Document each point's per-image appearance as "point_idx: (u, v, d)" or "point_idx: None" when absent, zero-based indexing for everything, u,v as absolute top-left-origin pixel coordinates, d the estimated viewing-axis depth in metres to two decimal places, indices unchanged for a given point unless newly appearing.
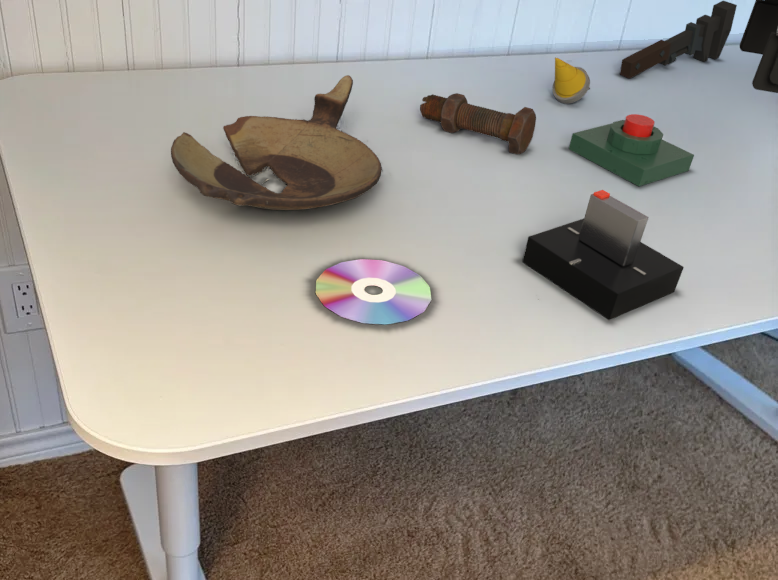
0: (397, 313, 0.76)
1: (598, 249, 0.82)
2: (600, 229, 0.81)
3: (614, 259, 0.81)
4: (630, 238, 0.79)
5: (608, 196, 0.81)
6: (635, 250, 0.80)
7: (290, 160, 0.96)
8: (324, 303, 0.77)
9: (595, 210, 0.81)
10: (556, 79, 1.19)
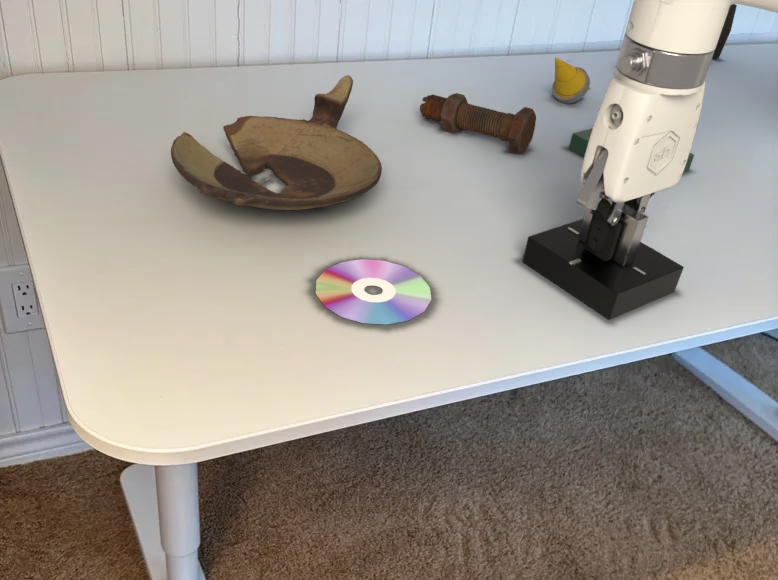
0: (397, 313, 0.76)
1: None
2: None
3: (614, 259, 0.81)
4: (630, 238, 0.79)
5: None
6: (635, 250, 0.80)
7: (290, 160, 0.96)
8: (324, 303, 0.77)
9: None
10: (556, 79, 1.19)
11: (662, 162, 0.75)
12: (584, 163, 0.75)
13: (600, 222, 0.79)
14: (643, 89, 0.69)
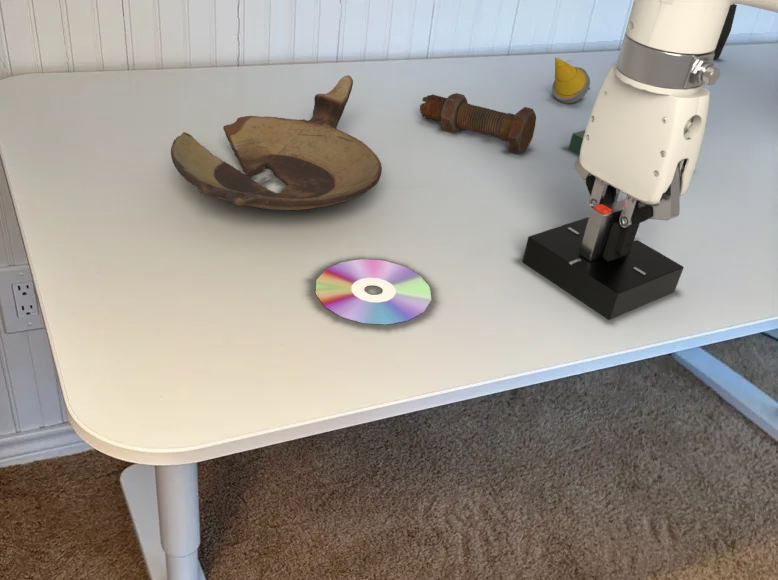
0: (397, 313, 0.76)
1: None
2: None
3: None
4: None
5: None
6: None
7: (290, 160, 0.96)
8: (324, 303, 0.77)
9: (608, 224, 0.79)
10: (556, 79, 1.19)
11: None
12: (664, 185, 0.73)
13: (633, 227, 0.79)
14: (700, 90, 0.70)
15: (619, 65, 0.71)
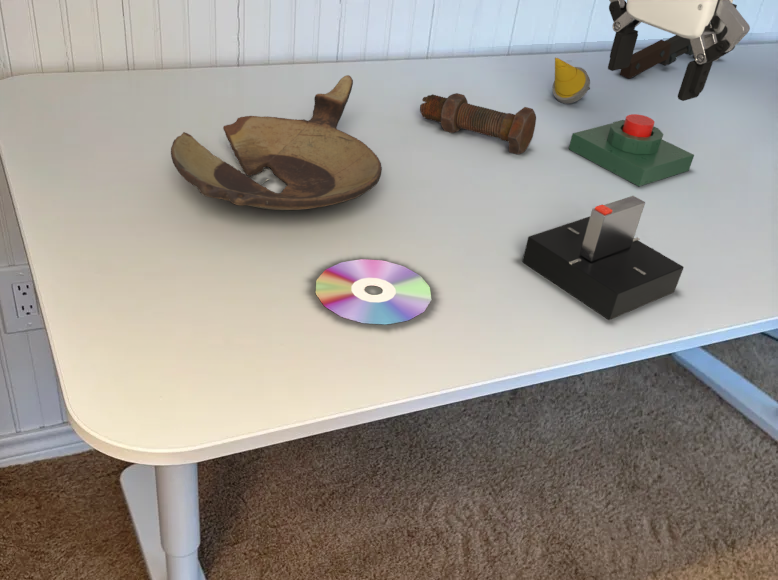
0: (397, 313, 0.76)
1: (610, 253, 0.82)
2: (612, 236, 0.80)
3: (624, 248, 0.83)
4: (638, 221, 0.82)
5: None
6: None
7: (290, 160, 0.96)
8: (324, 303, 0.77)
9: (608, 225, 0.79)
10: (556, 79, 1.19)
11: None
12: (707, 18, 0.83)
13: (707, 65, 0.87)
14: None
15: None
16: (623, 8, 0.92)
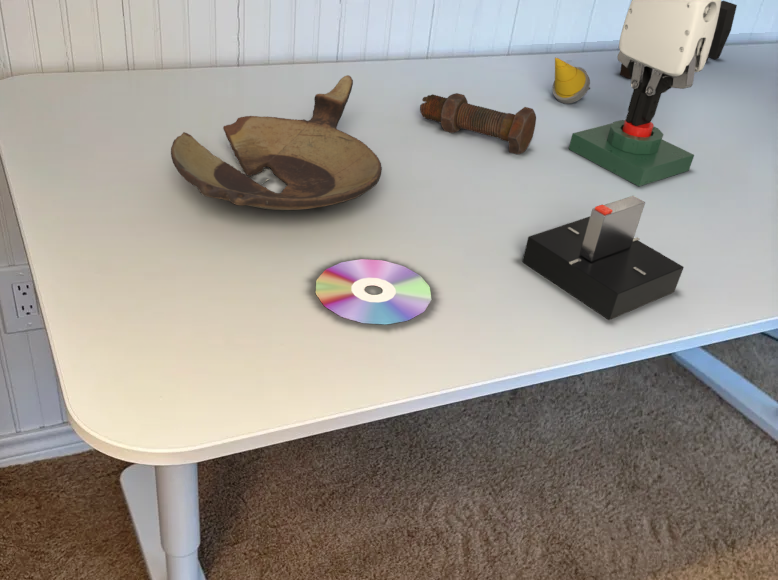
0: (397, 313, 0.76)
1: (610, 253, 0.82)
2: (612, 236, 0.80)
3: (624, 248, 0.83)
4: (638, 221, 0.82)
5: None
6: None
7: (290, 160, 0.96)
8: (324, 303, 0.77)
9: (608, 225, 0.79)
10: (556, 79, 1.19)
11: None
12: (687, 59, 0.95)
13: (656, 96, 1.01)
14: None
15: None
16: None
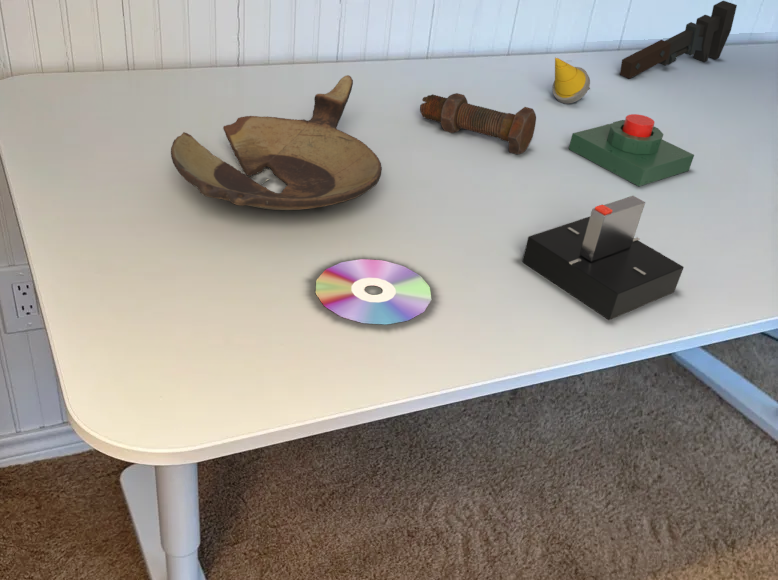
0: (397, 313, 0.76)
1: (610, 253, 0.82)
2: (612, 236, 0.80)
3: (624, 248, 0.83)
4: (638, 221, 0.82)
5: None
6: None
7: (290, 160, 0.96)
8: (324, 303, 0.77)
9: (608, 225, 0.79)
10: (556, 79, 1.19)
11: None
12: None
13: None
14: None
15: None
16: None
